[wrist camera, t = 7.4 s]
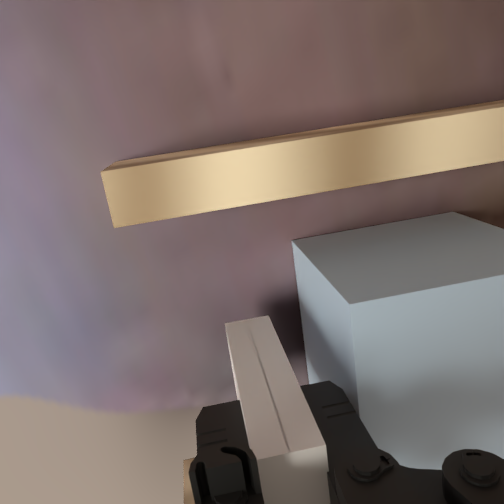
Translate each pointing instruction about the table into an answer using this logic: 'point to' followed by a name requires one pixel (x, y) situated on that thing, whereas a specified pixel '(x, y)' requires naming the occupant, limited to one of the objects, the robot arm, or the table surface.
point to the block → (410, 331)
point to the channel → (301, 167)
